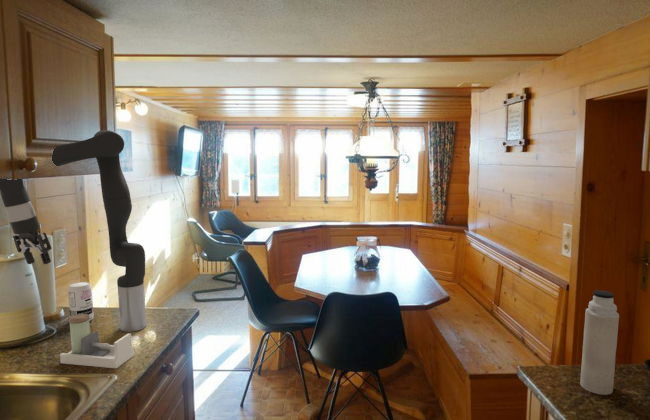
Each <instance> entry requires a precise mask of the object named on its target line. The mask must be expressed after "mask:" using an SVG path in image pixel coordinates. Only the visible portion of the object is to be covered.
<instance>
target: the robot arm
mask: <svg viewBox="0 0 650 420" xmlns="http://www.w3.org/2000/svg"><path fill="white" fill-rule="evenodd" d="M57 145H58V146H56V148H55V149H54V151H53V155H52V161H53V163H54V164H55V165H56V166H58V167H61V166H65V165H68V164H71V163H75V162H80V161H83V160H84V161H85V160H90V159H95V160H96V162H97V166H98V169H99V170H98V171H99V179H100V187H101V196H102V201H103V207H104V211H105V212H104V213H105V217H106V222H107V223H106V224H107V229H108V230H107V231H108V240H109V242H108V243H109V244H108V245H109V254H110V258H111V261H112V263H113V264H114V265H116V266H118V267H124V268H125V271H124V273H125V274H123V275H120V276H119V277H117V279H116V284H117V297H118V299H117V300H118V311H119V312H118V313H119V326H120V327H119V328H120V330H121V332H127V333H129V332H130V333H131V332H136V331H140V330H143V329H145V327H147V318H146V317H147V315H146V299H145V297H146V296H145V282H144V281H145V280H144V279H145V276H146V251H145V248H144V247H143V246H142V245H141V244H140V243H135V242H129V241H128V236H127V224H128V221H129V219H130V217H131V214H132V209H133V205H132V198H131V197H132V196H131V192H130V189H129V186H128V184H127V180H126V177H125V175H124V173H123V170H122V167H121V166H122V165H121V160H120V154H121V153H122V152H123V150H124V148H125V140H124V139H123V137H122V135H121V134H119V133H118V132H116V131H115V130H110V129H105V130H104V129H102V130H99V131H97V132H96V133H94V135H93V137H90V138H87V139H83V140H79V141H75V142H69V143H64V144H57ZM0 197H1V200H2V203H3V205H4V207H5V213H6V216H7V219H8V221H9V224H10V227H11V230H12V233H13V234H14V235H13V236H12V238H13V242H14V244H15V247H16V251H17V252H18V253H21V254H22V255H23V256H24V259H25V261H26V264H27V265H32V264H34V263H35V262H36V261H35V258H34V256H33V253H32V249H33V250H36V251H37V252H38V253H39V255H40V258H41V261H42V264H43V265H48V264H50V263H51V262H52V259H51V257H50V254H49V251H51V250H52V246H51V244H50V240H49V239H48V236H47V233H46V232H42V233H39V231H38V230H39V229H40V228H41V224H40V222H39V219H38V217H37V213H36V211H35V208H34V206H33V204H32V202H31V199H30V196H29V193H28V191H27V188H26V186H25V184H24V180H23V178H22V179H17V180H7V179H0Z"/></svg>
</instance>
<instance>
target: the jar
mask: <svg viewBox="0 0 650 420" xmlns="http://www.w3.org/2000/svg"><path fill="white" fill-rule="evenodd" d="M68 322H69V331H70V332H69V335H70V342H71V343H70V344H71V351H72V354H80V355H82V346H81V339H83V338H84V337H86V336H88V335H90V334H91V328H90V327H91V325H90V321H89V315H88V314H78V315H74V316H71V317H70V316H69V318H68Z"/></svg>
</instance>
